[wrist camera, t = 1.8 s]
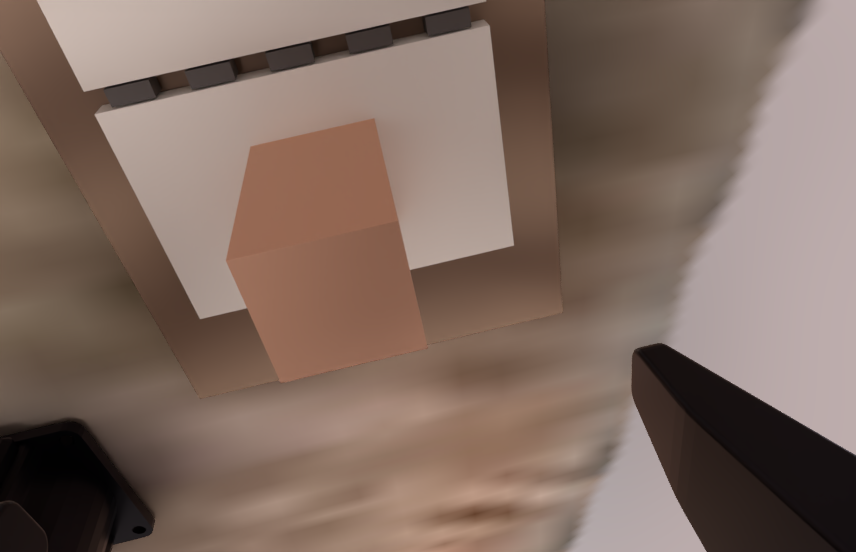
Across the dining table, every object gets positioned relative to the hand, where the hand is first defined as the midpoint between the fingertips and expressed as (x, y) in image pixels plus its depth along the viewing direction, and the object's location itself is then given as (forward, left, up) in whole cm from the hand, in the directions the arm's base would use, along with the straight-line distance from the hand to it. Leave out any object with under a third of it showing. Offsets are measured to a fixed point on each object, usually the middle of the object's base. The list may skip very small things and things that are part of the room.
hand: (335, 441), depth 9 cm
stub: (0, 0, -9) cm, 9 cm away
